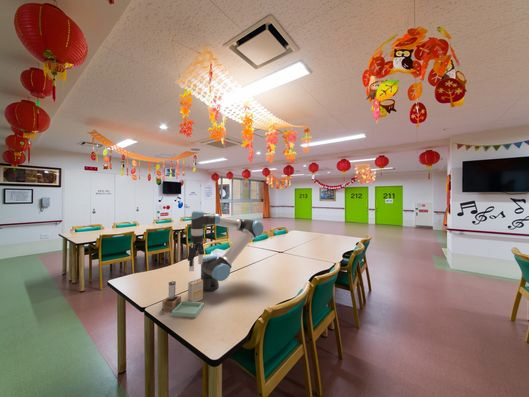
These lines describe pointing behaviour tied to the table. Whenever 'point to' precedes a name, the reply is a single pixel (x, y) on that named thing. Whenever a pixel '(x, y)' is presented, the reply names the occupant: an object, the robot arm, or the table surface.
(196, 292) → the supplement box
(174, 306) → the brown square holder
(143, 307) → the table surface
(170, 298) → the cylinder
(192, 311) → the tray
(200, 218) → the robot arm
